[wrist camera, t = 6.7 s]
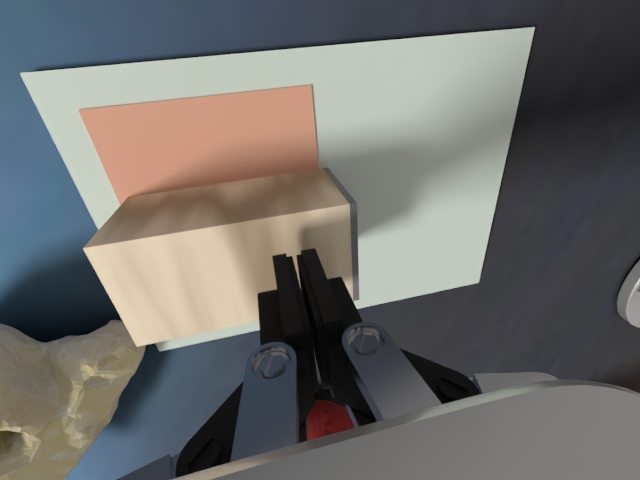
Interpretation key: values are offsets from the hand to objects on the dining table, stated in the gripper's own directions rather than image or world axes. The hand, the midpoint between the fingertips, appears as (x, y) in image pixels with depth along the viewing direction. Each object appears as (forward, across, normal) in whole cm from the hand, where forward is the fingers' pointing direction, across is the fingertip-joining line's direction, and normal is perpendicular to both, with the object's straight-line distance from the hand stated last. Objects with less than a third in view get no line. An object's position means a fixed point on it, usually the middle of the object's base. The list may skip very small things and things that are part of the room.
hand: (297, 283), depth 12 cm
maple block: (+4, -3, 0) cm, 5 cm away
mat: (+7, -2, 0) cm, 7 cm away
